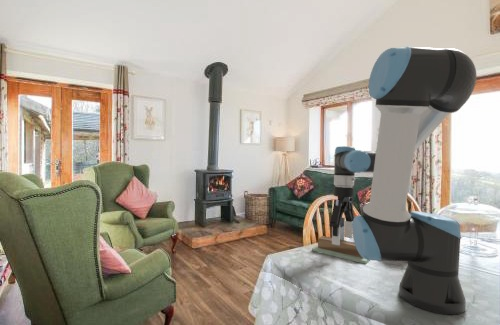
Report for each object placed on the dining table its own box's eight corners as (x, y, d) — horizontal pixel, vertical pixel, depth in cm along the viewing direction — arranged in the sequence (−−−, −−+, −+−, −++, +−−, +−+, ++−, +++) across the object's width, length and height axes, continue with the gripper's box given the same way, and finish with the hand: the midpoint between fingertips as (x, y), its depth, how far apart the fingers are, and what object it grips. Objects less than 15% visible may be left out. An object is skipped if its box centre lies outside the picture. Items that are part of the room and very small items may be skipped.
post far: (340, 247, 120) (341, 220, 119) (329, 245, 123) (330, 218, 122) (346, 244, 125) (347, 218, 125) (335, 241, 128) (336, 216, 128)
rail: (363, 258, 105) (364, 247, 105) (317, 247, 116) (318, 237, 116) (366, 255, 108) (367, 245, 108) (321, 245, 119) (322, 235, 119)
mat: (366, 264, 102) (366, 261, 102) (311, 250, 115) (312, 248, 115) (372, 258, 109) (372, 255, 109) (320, 246, 122) (320, 243, 122)
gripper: (342, 188, 99) (340, 250, 99) (363, 185, 119) (361, 236, 119) (321, 187, 104) (319, 245, 104) (345, 184, 123) (343, 233, 123)
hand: (342, 241), depth 111 cm, fingers open, 13 cm apart
